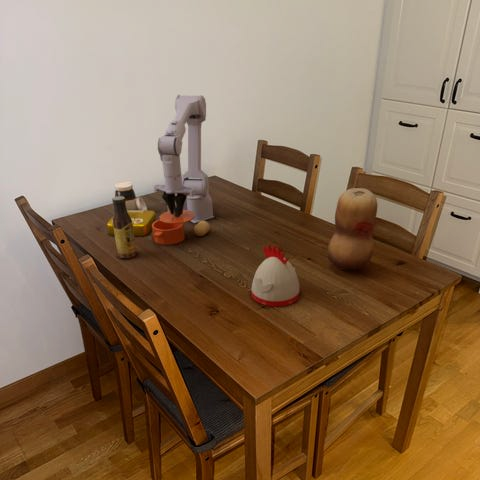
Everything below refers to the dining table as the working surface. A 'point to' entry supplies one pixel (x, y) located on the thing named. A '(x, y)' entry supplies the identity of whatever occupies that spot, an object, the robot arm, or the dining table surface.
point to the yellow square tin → (138, 222)
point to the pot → (168, 232)
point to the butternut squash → (353, 229)
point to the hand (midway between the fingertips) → (176, 214)
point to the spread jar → (129, 196)
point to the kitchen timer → (275, 280)
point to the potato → (201, 228)
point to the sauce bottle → (123, 229)
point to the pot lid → (176, 216)
